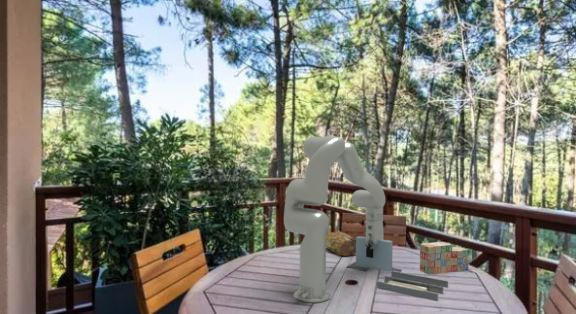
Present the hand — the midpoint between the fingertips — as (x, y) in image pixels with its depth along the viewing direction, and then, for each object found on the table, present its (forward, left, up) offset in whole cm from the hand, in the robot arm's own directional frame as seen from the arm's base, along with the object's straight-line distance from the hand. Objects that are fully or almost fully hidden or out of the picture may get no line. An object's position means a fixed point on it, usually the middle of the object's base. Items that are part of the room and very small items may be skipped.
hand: (373, 254), depth 172 cm
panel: (0, 0, -6) cm, 6 cm away
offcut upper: (-20, -21, -6) cm, 30 cm away
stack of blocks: (+17, -26, -7) cm, 32 cm away
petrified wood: (+17, +25, -7) cm, 31 cm away
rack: (-15, -22, -6) cm, 27 cm away
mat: (0, 0, -6) cm, 6 cm away
